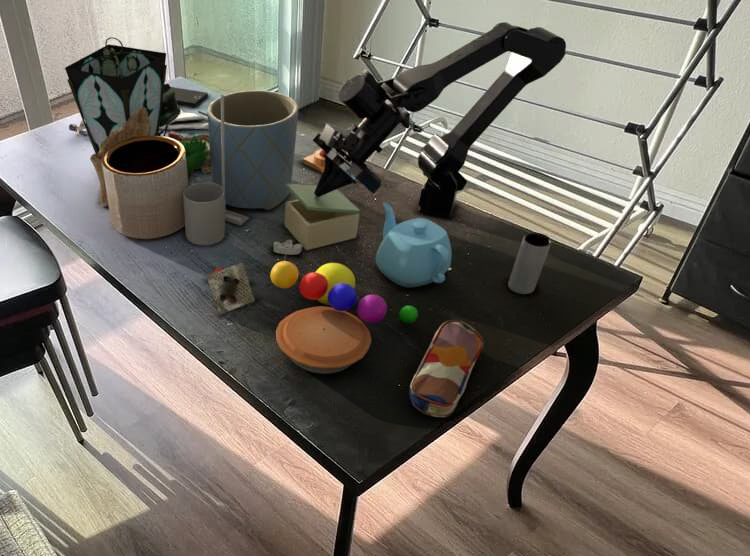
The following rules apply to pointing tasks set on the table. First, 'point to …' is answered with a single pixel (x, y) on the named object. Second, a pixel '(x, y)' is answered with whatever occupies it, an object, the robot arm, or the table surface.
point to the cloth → (188, 122)
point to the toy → (194, 156)
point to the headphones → (168, 108)
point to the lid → (322, 199)
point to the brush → (228, 216)
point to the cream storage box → (319, 225)
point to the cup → (204, 213)
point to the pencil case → (445, 369)
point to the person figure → (78, 128)
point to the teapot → (413, 251)
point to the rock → (132, 128)
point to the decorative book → (205, 138)
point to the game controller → (287, 248)
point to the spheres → (336, 290)
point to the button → (323, 153)
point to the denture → (174, 135)
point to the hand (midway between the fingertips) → (316, 195)
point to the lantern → (117, 88)
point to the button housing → (315, 161)
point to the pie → (323, 339)
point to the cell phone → (189, 96)
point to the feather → (180, 129)
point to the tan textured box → (230, 288)
